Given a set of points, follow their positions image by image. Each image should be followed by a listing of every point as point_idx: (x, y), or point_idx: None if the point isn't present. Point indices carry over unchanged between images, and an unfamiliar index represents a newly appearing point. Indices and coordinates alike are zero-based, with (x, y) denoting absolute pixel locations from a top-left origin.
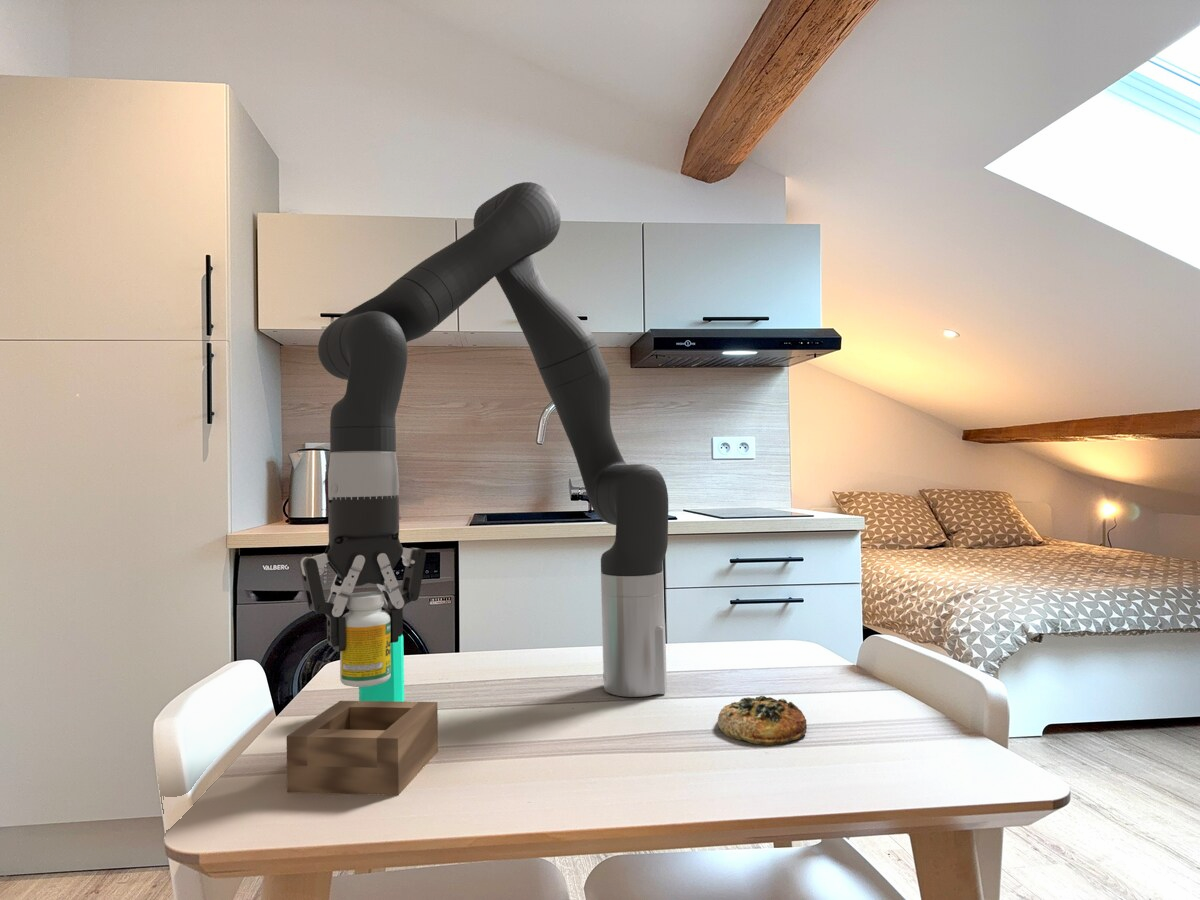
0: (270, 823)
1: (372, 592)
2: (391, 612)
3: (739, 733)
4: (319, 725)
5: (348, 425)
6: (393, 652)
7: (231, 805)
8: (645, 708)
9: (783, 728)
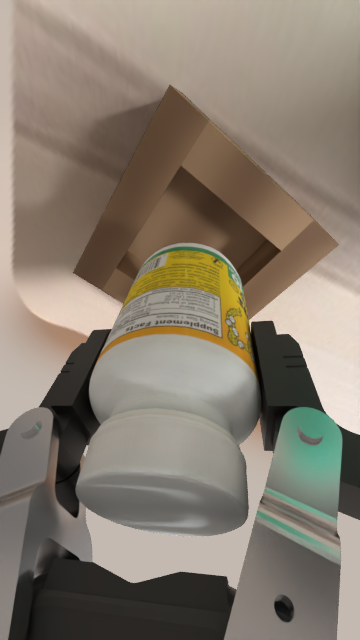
0: (92, 304)
1: (202, 502)
2: (263, 438)
3: None
4: (118, 252)
5: None
6: None
7: (45, 243)
8: None
9: None
